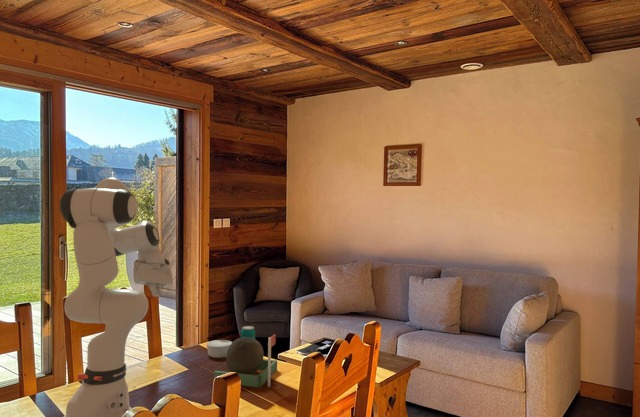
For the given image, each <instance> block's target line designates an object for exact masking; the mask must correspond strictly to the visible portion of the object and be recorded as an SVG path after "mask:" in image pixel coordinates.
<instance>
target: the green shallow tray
mask: <svg viewBox="0 0 640 417" xmlns="http://www.w3.org/2000/svg"><path fill="white" fill-rule="evenodd" d="M275 345H276V334H273V335H271V337H270V336H269V337H268V343H267V346H268V347H267V348H268V349H267V359H265V358H263V361H262V363H261V365H260V367H259V368H258V369H260V370H259V371H261V372H260V373H259V374H252V375H251V374H242V373H238V375H239V376H240V378H241V381H242V385H241V386H243V387H251V388H261V387H262V386H264V384H266V382H267V388H271V377H272V376H273V375H274V374H275V373H276V372H277V371H278V360H276V359H275V360H274V359H272V347H273V346H275ZM228 372H229V371H223V370H221V371H220V370H215V371H214V372H213V373H214V376H213V377H214V378H215V377H217V376H219V375H222V374H225V373H228ZM214 378H213V379H214Z"/></svg>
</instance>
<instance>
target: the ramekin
mask: <svg viewBox="0 0 640 417" xmlns="http://www.w3.org/2000/svg"><path fill="white" fill-rule="evenodd" d="M232 342H233V341H231V340H226V339H217V340H216V339H215V340H211V341H208V342H207V343H206V347H207V354H208V356H209V357H210V358H214V359H215V358H216V359H219V358H220V359H221V358H226V355H227V350H228V348H229V346H230V345H231V343H232Z"/></svg>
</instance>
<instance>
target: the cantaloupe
mask: <svg viewBox="0 0 640 417" xmlns="http://www.w3.org/2000/svg"><path fill="white" fill-rule="evenodd" d="M231 342H232V343H231V345H230V346H229V348H228V350H227V355H226V357H225V359H226V361H225V363H226V367H227V370H228V372H237V373H242V374H251V375H255V373H256V372H257V371H258V368H259V367H260V365H261V363H262V361H263V359H264V355H265V352H264V348H263V345H262V344H261V343H260V341H258V340H257V339H256V338H255V339H253V338H249V337H241V336H240V337H238V338H237V339H235V340H233V341H231Z"/></svg>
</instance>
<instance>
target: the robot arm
mask: <svg viewBox="0 0 640 417" xmlns="http://www.w3.org/2000/svg"><path fill="white" fill-rule="evenodd" d="M59 199H60V200H59V212H60V214H61V216H62V218H63V219H64V220H65V222H67V224H68V225H69V227H70V228H71V229H74V230H73V237H72V238H73V239H72V241H73V252H74V256H75V261H76V264H77V269H78V277H79V281H78V285H77V287H76V288H75V289H74V290H72V291H71V292H70V293H69V294H68V296H67V297H66V299H65V301H64V304H63V305H64V306H63V308H64V313H65V315H66V317H67V319H69V320H71V321H74V322H79V323H83V324H105V329H104V332H102V333H99V334H98V335H95V336H94V337H93V338H91V339H90V341H89V342H88V345H87V353H86V354H87V355H86V356H87V360H86V364H87V365H86V367H85V370H84V373H82V372H79V373H78V374H77V376H76V379H77V381H82V383H81V385H79V387H78V389H77V390H76V391H75V392H74V394H73V395H72V397H71V398H70V399H69V401H68V402H67V405H66V408H65V414H64V416H63V417H122V415H123V414H124V413H125V412H126V411H127V410H129V409H131V408H132V407H131V406H130V396H129V386H128V383H127V382H126V376H127V364H126V362H125V356H126V344H127V339H128V337H129V335H130V332H131V331H132V330H133V328H134V327H135V326H136V325H137V324H138V323H139V322H141V321H142V320H143V319H144V318H145V317H146V314H147V313H148V311H149V301H148V298H147V296H146V295H145V293H144V292H143V291H138V290H135V289H130V288H107V286H108V285H109V284H111V283H112V282H114V281H115V279H116V278H117V277H118V274H119V265H118V264H119V263H118V260H117V257H119V256H123V255H126V254H129V253H134V252H137V259H135V260H134V262H133V268H132V270H133V272H132V273H133V274H132V275H133V282H134V283H135V284H136V285H143V286H145V285H146V286H148V288H149V289H148V290H150V292H151V295H152V297H160V296H161V290H162V287H163V288H164V287H165V288H166V287H169V286H171V285H173V282H174V281H173V280H174V279H173V273H172V269H171V267H170V266H171V261H170V260H168V259H167V258H166V257H165V256H164V255H162V251H161V249H160V241H161V240H160V235H159V234H160V233H159V231H158V229H157V227H156V226H155V223H154V222H152V221H150V220H144V221H143V220H141V221H139V222H137V223H136V224H135V225H131V226H126V225H128V224H129V223H131V222H132V221H133V220H135V218H136V217H137V214H138V211H139V204H138V201H137V199H136V197H135V195H134V194H133V192H132V191H131V190H130V188H129V187H128V186H127V185H126V184H125V183H124V182H122V181H121V180H120V179H118V178H115V177H106V178H103V179H101V180H99V182H98V183H97V185H96V186H95V187H89V188H79V187H78V188H71V189H68V190H65V191H64V192H63V193H62V195H61V197H60V198H59ZM123 226H126V227H123ZM119 227H120V228H119ZM122 227H123V228H122Z"/></svg>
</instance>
